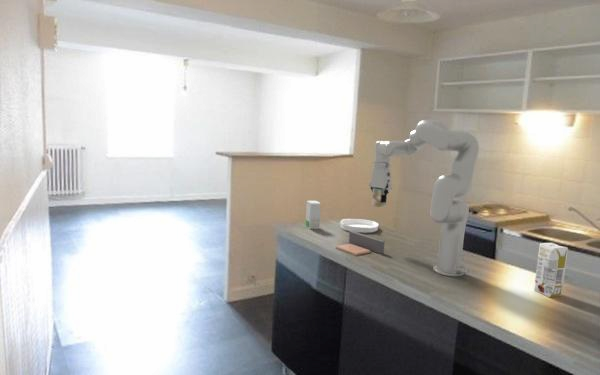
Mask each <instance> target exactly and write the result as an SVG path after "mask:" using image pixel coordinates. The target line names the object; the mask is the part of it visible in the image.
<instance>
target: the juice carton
mask: <svg viewBox="0 0 600 375" xmlns="http://www.w3.org/2000/svg"><path fill="white" fill-rule="evenodd" d="M538 247H539V249H538V255H537V264H536V271H535V277H534V279H535V280H534V286H533V289H534V292H536V293H539V294H541V295H543V296H545V297H547V298H555V297H561V296H562V294H563V288H564V282H565V274H566V267H567V259H568V250H569V247H568V246H562V245H559V244H556V243H555V242H540V243H539V246H538Z"/></svg>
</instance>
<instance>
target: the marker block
mask: <svg viewBox="0 0 600 375" xmlns="http://www.w3.org/2000/svg"><path fill="white" fill-rule="evenodd" d="M384 191H385V190H384ZM381 195H383V194H382V189H381V188H373V193H372V195H371V196H372V198H371V199H372V200H371V206H372V207H376V208H384V207H385V208H386V206H387V198H388V197H387V196H388V195H387V196H386V202H384V203H381Z"/></svg>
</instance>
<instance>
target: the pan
mask: <svg viewBox="0 0 600 375" xmlns="http://www.w3.org/2000/svg"><path fill="white" fill-rule="evenodd" d="M339 224H340V229H342V230H343V231H345V232H350V231H354V232H357V233H360V234H369V233H370V234H371V233H375V232H378V230H379V229H378V228H379V226H380V225H379V223H378V222H377V221H374V220H369V219H362V218H343V219H342V218H341V220H340V221H339Z"/></svg>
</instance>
